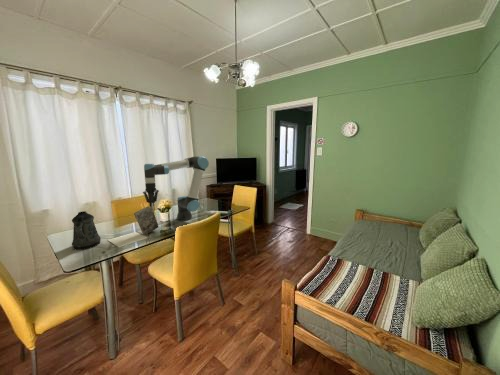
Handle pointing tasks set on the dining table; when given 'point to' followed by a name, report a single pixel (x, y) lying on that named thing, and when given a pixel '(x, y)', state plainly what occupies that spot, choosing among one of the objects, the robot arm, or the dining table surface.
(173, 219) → the dining table surface
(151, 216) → the stone block
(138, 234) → the mat
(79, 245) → the black drawstring bag
